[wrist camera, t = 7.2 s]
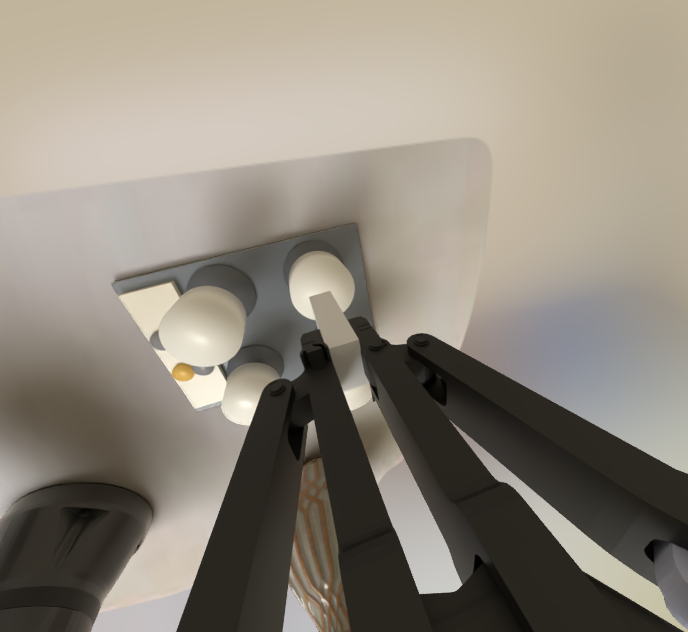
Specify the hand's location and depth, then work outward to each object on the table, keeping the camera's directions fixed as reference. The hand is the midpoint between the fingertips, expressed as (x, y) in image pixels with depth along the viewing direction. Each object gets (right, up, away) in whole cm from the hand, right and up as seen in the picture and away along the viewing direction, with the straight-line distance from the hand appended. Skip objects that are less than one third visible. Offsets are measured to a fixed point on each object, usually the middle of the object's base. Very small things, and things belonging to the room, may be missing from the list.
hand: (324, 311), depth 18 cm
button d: (-1, +4, +7) cm, 8 cm away
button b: (-10, 0, +4) cm, 10 cm away
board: (-7, -1, +10) cm, 12 cm away
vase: (-2, -24, +23) cm, 33 cm away
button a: (-8, -6, +10) cm, 15 cm away
